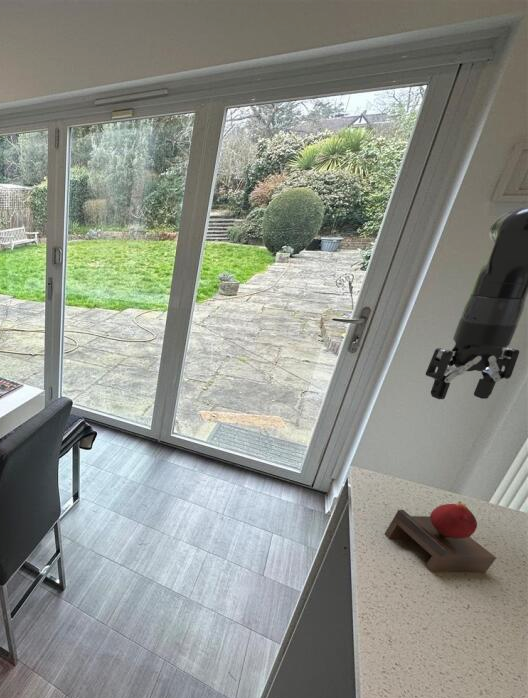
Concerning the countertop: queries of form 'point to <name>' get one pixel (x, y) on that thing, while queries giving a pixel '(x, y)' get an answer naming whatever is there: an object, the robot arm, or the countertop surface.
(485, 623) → the countertop surface
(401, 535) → the shelf
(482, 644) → the countertop surface
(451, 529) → the red rounded lump
